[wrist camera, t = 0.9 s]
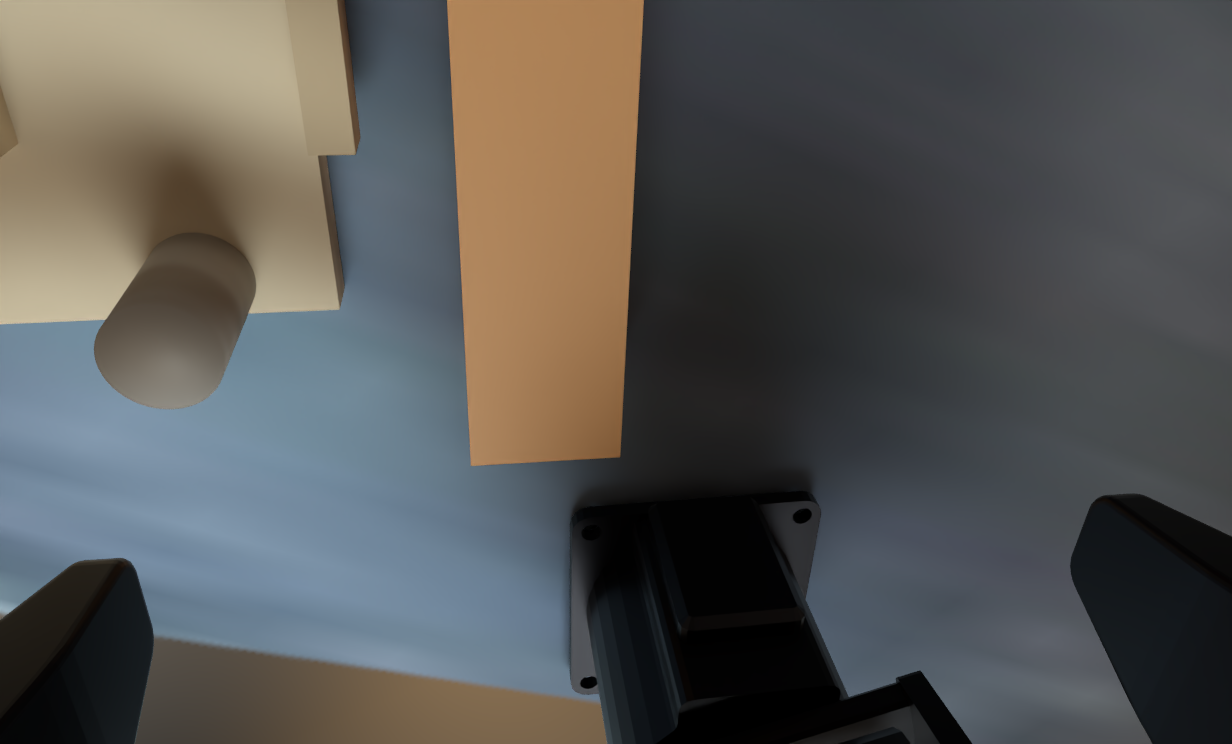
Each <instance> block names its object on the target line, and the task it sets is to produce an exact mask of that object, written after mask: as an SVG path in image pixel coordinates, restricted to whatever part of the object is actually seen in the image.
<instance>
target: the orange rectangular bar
mask: <svg viewBox="0 0 1232 744" xmlns="http://www.w3.org/2000/svg"><path fill="white" fill-rule="evenodd" d="M643 6H644V0H447V8H448V27H449V47H450V66H451V86H452V105H453V125H454V144H455V164H456V183H457V203H458V222H459V242H460V261H461V281H462V300H463V320H464V339H465V359H466V378H467V398H468V417H469V437H470V456H471V466H478V465H495V464H512V463H529V462H546V461H564V460H581V459H598V458H615V457H620V451H621V432H622V412H623V393H624V374H625V354H626V335H627V316H628V296H629V277H630V257H631V238H632V219H633V199H634V180H635V161H636V141H637V122H638V103H639V83H640V64H641V44H642V25H643Z"/></svg>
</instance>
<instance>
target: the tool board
mask: <svg viewBox="0 0 1232 744" xmlns="http://www.w3.org/2000/svg"><path fill="white" fill-rule="evenodd" d="M359 141H360V129H359V121H358V112H357V104H356V95H355V87H354V78H353V70H352V61H351V53H350V44H349V35H348V27H347V18H346V10H345V1H344V0H0V324H16V323H40V322H63V321H86V320H105V322H104V323H103V325H102V326H101V328H100V329H99V331H98V333H97V336H96V339H95V344H94V355H95V360H96V363H97V366H98V368H99V370H100V372H101V374H102V376H103V377H104V378H105V380H106V381H107V382H108V383H109V384H110V385H111V386H112V387H113V388H114V389H115V390H116V391H117V392H119V393H120V394H122V395H123V396H125V397H126V398H128V399H130V400H132V401H134V402H136V403H139V404H141V405H145V406H148V407H153V408H159V409H179V408H185V407H189V406H192V405H195V404H197V403H199V402H201V401H203V400H204V399H206V398H207V397H209V396H210V395H211V394H212V393H213V392H214V391H215V390H216V388H217V387H218V385H219V384H220V382H221V380H222V377H223V375H224V372H225V370H226V367H227V365H228V362H229V360H230V357H231V355H232V352H233V350H234V347H235V345H236V342H237V340H238V337H239V335H240V333H241V330H242V328H243V325H244V323H245V320H246V318H247V315H248V313H271V312H294V311H317V310H340V306H341V302H342V297H343V293H344V288H345V287H344V280H343V272H342V265H341V258H340V251H339V243H338V236H337V229H336V222H335V214H334V207H333V200H332V193H331V185H330V178H329V171H328V164H327V156H326V155H356V152H357V148H358V144H359Z"/></svg>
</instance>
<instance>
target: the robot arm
mask: <svg viewBox="0 0 1232 744" xmlns="http://www.w3.org/2000/svg"><path fill="white" fill-rule="evenodd" d="M803 508H805V510H804V511H802V512H801V513H798V514H794V513H795V512H796V511H798V510H799V509H803ZM820 517H821V509H820V507H819V505H818V503H817V501H816V499H815V498H814V496H813V495H812V494H810V493H808V492H803V491H796V492H783V493H769V494H756V495H743V496H729V497H716V498H703V499H689V500H676V501H663V502H649V503H636V504H623V505H609V506H596V507H587V508H583V509H581V510H579V511H578V512H576V513H575V514H574V515H573V517H572V518H571V522H570V679H571V685H572V689H573V690H574V691H575V692H577V693H580V694H588V695H589V694H599V696H600V702H601V708H602V715H603V721H604V727H605V732H606V739H607V744H972V743H971V741H970V740H969V738H968V737H967V736H966V734H965V733H964V731H963V730H962V729H961V727H960V726H959V724H958V723H957V721H956V720H955V719H954V717H953V716H952V714H951V713H950V712H949V710H948V709H947V707H946V706H945V704H944V703H943V702H942V700H941V699H940V697H939V696H938V695H937V693H936V692H935V690H934V689H933V687H932V686H931V685H930V683H929V682H928V680H927V679H926V678H925V676H924V675H923V673H922V672H921V671H917V672H913V673H910V674H907V675H904V676H901V677H897V678H896V683H893V684H890V685H887V686H883V687H880V688H877V689H874V690H870V691H867V692H864V693H861V694H858V695H854V696H851V697H848V694H847V692H846V690H845V688H844V685H843V683H842V681H841V679H840V676H839V674H838V672H837V670H836V667H835V665H834V663H833V661H832V658H831V656H830V654H829V652H828V649H827V647H826V645H825V643H824V640H823V638H822V636H821V634H820V631H819V629H818V627H817V625H816V622H815V620H814V618H813V615H812V613H811V611H810V609H809V606H808V604H807V602H806V600H805V599H806V594H807V588H808V583H809V577H810V572H811V566H812V561H813V555H814V550H815V544H816V539H817V533H818V528H819V522H820ZM589 525H597V527H596V528H595V529H592V530H584V528H585V527H586V526H589ZM1070 568H1071V576H1072V580H1073V583H1074V585H1075V587H1076V590H1077V592H1078V594H1079V596H1080V598H1081V600H1082V602H1083V604H1084V606H1085V609H1086V611H1087V613H1088V615H1089V617H1090V619H1091V621H1092V623H1093V625H1094V628H1095V630H1096V632H1097V634H1098V636H1099V638H1100V640H1101V642H1102V644H1103V646H1104V649H1105V651H1106V653H1107V655H1108V657H1109V659H1110V661H1111V663H1112V665H1113V668H1114V670H1115V672H1116V674H1117V676H1118V678H1119V680H1120V682H1121V684H1122V687H1123V689H1124V691H1125V693H1126V695H1127V697H1128V699H1129V701H1130V703H1131V705H1132V707H1133V709H1134V711H1135V713H1136V715H1137V717H1138V719H1139V721H1140V722H1141V724H1142V726H1143V728H1144V729H1145V731H1146V733H1147V735H1148V736H1149V738H1150V740H1151V742H1152V744H1232V536H1230V535H1227V534H1225V533H1223V532H1221V531H1219V530H1217V529H1215V528H1213V527H1210V526H1208V525H1206V524H1204V523H1202V522H1200V521H1198V520H1196V519H1193V518H1191V517H1189V516H1187V515H1185V514H1183V513H1181V512H1179V511H1176V510H1174V509H1172V508H1170V507H1168V506H1166V505H1164V504H1162V503H1160V502H1157V501H1155V500H1153V499H1151V498H1149V497H1147V496H1144V495H1140V494H1117V495H1105V496H1101V497H1099V498H1097V499H1096V500H1095V501H1094V502H1093V503H1092V504H1091V506H1090V508H1089V511H1088V514H1087V516H1086V519H1085V522H1084V524H1083V527H1082V530H1081V532H1080V535H1079V538H1078V540H1077V543H1076V546H1075V548H1074V551H1073V554H1072V557H1071V564H1070ZM153 646H154V635H153V628H152V623H151V620H150V617H149V613H148V610H147V606H146V603H145V599H144V596H143V593H142V589H141V586H140V582H139V579H138V576H137V572H136V570H135V568H134V566H133V565H132V563H131V562H130V561H128V560H126V559H124V558H113V559H97V560H84V561H79V562H76V563H74V564H73V565H71V566H69V567H68V568H67V569H65V570H64V571H63V572H61V573H60V574H59V575H58V576H56V577H55V578H54V579H52V580H51V581H50V582H49V583H47V584H46V585H45V586H43V587H42V588H41V589H40V590H38V591H37V592H36V593H34V594H33V595H32V596H31V597H29V598H28V599H27V600H25V601H24V602H23V603H22V604H20V605H19V606H18V607H16V608H15V609H14V610H13V611H11V612H10V613H9V614H7V615H6V616H5V617H3V618H2V619H1V620H0V744H135V740H136V735H137V730H138V725H139V720H140V715H141V710H142V705H143V700H144V695H145V690H146V685H147V680H148V675H149V671H150V666H151V661H152V655H153ZM588 676H591V677H588ZM586 677H587V678H586Z"/></svg>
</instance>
